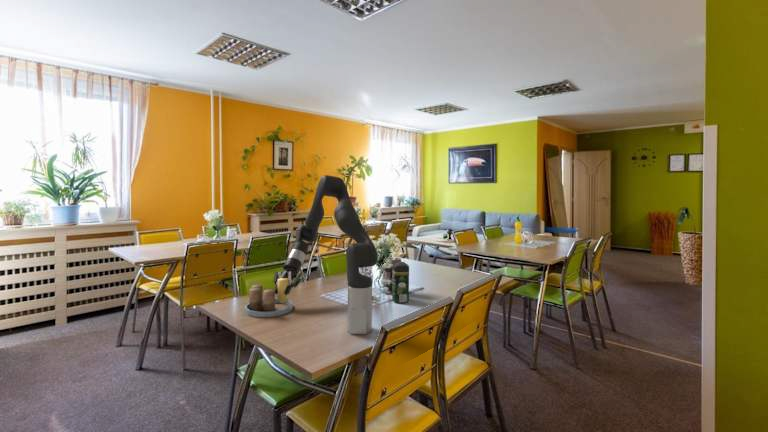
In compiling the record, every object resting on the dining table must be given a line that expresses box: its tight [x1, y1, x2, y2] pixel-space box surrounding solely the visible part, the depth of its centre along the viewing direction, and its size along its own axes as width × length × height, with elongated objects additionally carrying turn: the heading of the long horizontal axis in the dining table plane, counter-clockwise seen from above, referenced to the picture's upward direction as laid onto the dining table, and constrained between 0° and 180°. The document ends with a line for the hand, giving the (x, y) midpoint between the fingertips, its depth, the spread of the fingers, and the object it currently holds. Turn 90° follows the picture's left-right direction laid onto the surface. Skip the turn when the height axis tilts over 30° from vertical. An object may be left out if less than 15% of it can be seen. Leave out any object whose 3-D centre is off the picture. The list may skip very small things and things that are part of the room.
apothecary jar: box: [380, 257, 402, 295], centre depth 191 cm, size 12×12×18 cm
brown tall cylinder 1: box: [250, 284, 264, 310], centre depth 163 cm, size 5×5×10 cm
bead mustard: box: [277, 277, 289, 304], centre depth 164 cm, size 5×5×10 cm
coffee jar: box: [391, 261, 410, 304], centre depth 177 cm, size 10×8×19 cm
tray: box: [244, 297, 294, 318], centre depth 162 cm, size 20×20×2 cm
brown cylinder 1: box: [248, 287, 262, 312], centre depth 158 cm, size 5×5×10 cm
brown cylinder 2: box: [263, 288, 276, 312], centre depth 156 cm, size 5×5×10 cm
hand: (280, 293), depth 162 cm, fingers closed on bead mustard, 4 cm apart
